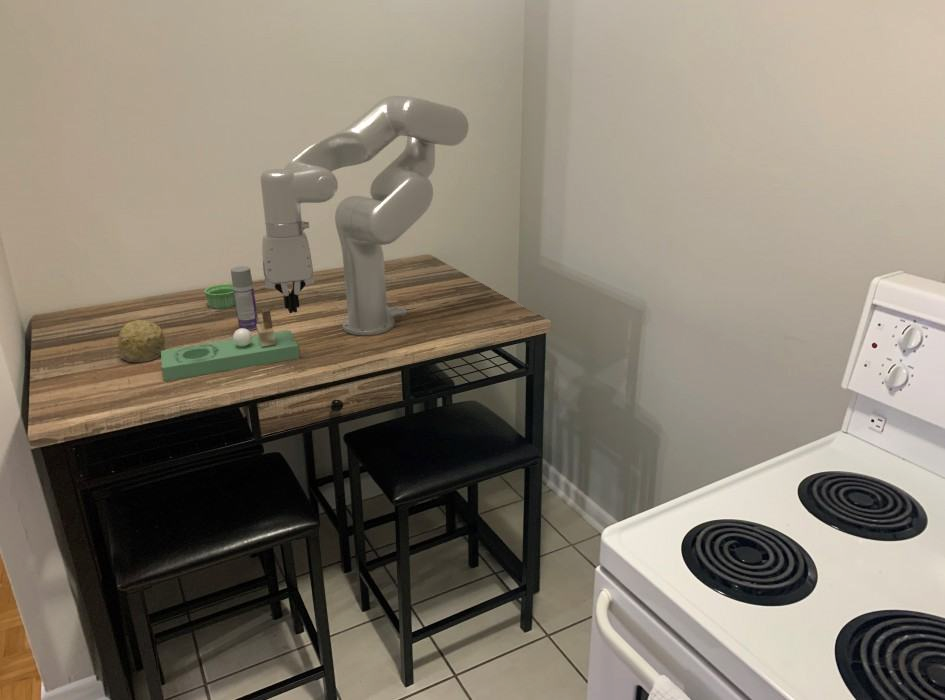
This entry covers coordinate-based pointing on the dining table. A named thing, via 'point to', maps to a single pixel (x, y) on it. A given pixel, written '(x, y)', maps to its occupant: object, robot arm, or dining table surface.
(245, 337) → the golf ball
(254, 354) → the putting green
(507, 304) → the dining table surface
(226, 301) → the ramekin
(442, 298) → the dining table surface
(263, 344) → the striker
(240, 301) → the container
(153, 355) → the rock
